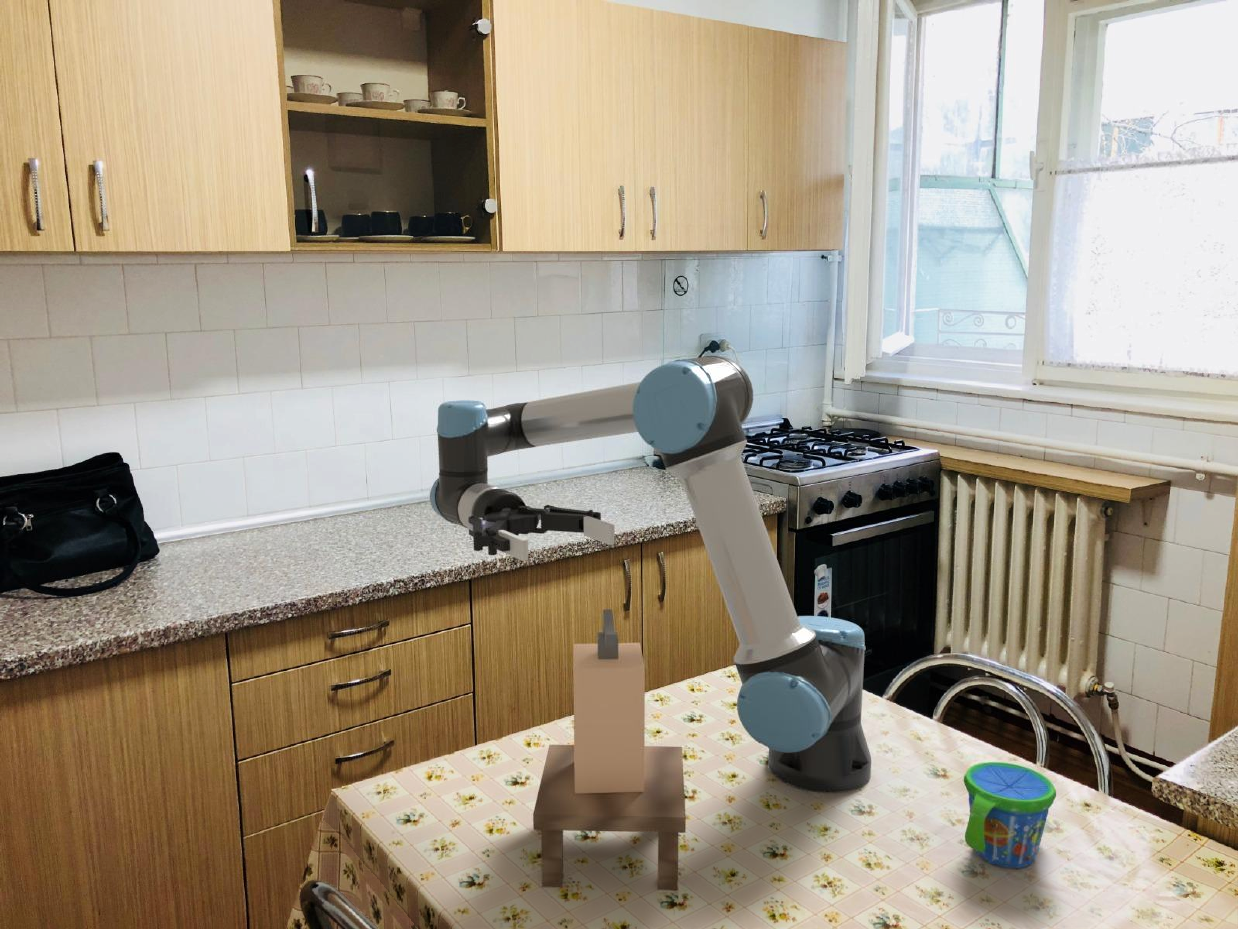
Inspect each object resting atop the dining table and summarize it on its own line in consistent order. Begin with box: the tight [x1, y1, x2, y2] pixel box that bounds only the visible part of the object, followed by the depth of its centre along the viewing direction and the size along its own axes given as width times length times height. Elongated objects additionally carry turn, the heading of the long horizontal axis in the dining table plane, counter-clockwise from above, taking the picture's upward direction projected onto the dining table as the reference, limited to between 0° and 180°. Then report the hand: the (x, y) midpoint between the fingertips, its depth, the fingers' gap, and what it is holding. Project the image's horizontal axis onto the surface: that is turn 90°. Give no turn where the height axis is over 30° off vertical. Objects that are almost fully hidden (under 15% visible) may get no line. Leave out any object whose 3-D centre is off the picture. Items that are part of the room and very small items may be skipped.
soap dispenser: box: [572, 609, 646, 794], centre depth 122 cm, size 13×9×22 cm
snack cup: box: [963, 761, 1057, 869], centre depth 126 cm, size 16×10×10 cm
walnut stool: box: [532, 744, 687, 891], centre depth 127 cm, size 18×18×10 cm
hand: (570, 542), depth 131 cm, fingers open, 13 cm apart
